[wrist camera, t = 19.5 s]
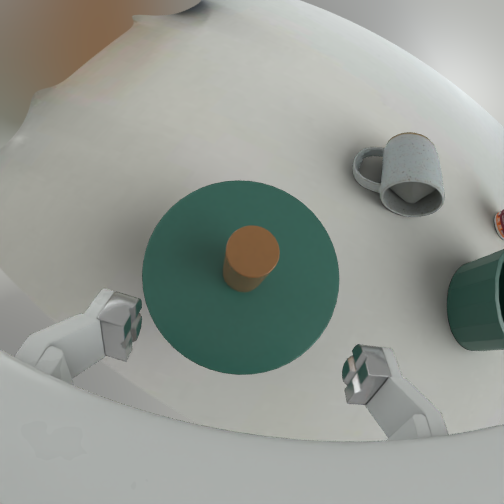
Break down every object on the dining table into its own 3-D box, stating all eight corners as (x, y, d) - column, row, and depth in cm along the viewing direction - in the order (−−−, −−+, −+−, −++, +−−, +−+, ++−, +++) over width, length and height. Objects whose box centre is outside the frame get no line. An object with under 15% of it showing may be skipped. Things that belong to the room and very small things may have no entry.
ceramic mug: (419, 170, 36) (449, 141, 29) (420, 223, 34) (457, 199, 27) (351, 144, 36) (375, 106, 29) (346, 197, 34) (375, 163, 26)
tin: (495, 352, 31) (538, 348, 23) (442, 348, 30) (492, 346, 22) (498, 271, 34) (538, 257, 26) (447, 255, 34) (492, 235, 26)
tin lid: (316, 384, 19) (356, 401, 13) (127, 347, 18) (92, 351, 12) (340, 211, 23) (378, 171, 17) (174, 173, 22) (164, 121, 16)
